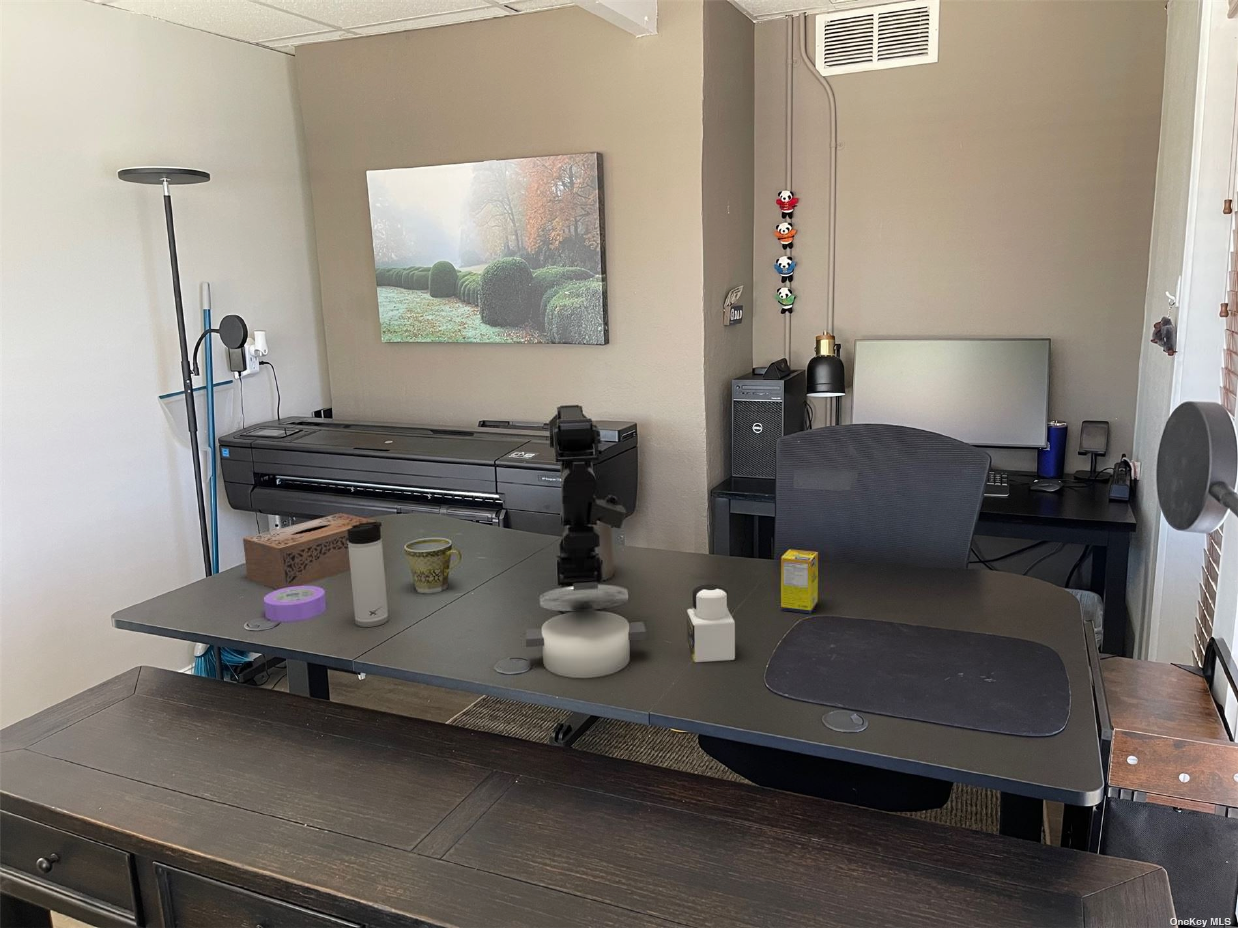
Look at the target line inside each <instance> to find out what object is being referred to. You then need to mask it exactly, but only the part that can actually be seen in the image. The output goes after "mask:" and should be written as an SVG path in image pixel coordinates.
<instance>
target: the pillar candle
mask: <svg viewBox="0 0 1238 928" xmlns="http://www.w3.org/2000/svg"><path fill="white" fill-rule="evenodd" d="M589 526H593V527H594V528H596V529H597V530H598V533H599V539H600V546H599V547H595V551H596V553H599V556H600V558H601V559H602V560H603V570H602V575H603V580H605V581H607V579H608V580H609V578H610V579H611V578H612V577H613V576H614V555H613V537H612V525H608V524H605V523H602V522H599V521H597V525H589ZM603 580H602V582H604V581H603Z"/></svg>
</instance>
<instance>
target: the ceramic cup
mask: <svg viewBox="0 0 1238 928" xmlns="http://www.w3.org/2000/svg"><path fill="white" fill-rule="evenodd" d="M404 552H405V555H406V559H407V562H408V565H409V567H410V572H411V575H412V579H413V583H414V587H415V589H416V591H417V592H418V593H419V594H428V595H429V594H436V593H441V592H443V591H445V590H447V589H448V585H449V573H450V571H451V570H453V568H454V567H455V566H456V565H458V564H459V563H460V562H461V560H462V554H461V551H460V550H458V549H455V548H454V549H453V542H452V540H450V539H448V538H444V537H426V538H419V539H415V540H412V541H408V543H405V545H404ZM453 553H456V554H457V555H458V560H457V561H456V562H454V563H453V564H452V565H451V566H450V563H451V557H452V554H453Z"/></svg>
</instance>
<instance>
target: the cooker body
mask: <svg viewBox="0 0 1238 928" xmlns="http://www.w3.org/2000/svg"><path fill="white" fill-rule="evenodd" d="M645 627H646V626H645V624H644V622H643V621H635V622H628V620H627V619H626V618H624V617H623V616H621V615H620V614H616V613H613V612H608V611H602V610H601V611H594V610H582V611H572V612H570V613H562V614H558V615H556V616H553V617H551V618H550V619H547V620H546V621H545V622H544V623H543V624H542V626H541V627H540V628H527V629H525V646H526V648H532V647H541V648H542V661H543V662H542V663H543V666H544V667H545V669H546V670H547V671H549V672H551V673H553V674H555V675H558V676H561V677H565V678H573V679H590V678H599V677H604V676H609V675H611V674H615V673H617V672H619V671H621V670H622V669H624V668H626V666H628V665H629V663H630V660H631V654H630V650H631V649H630V645H631V644H630V641H637V640H646V639H647V630H646V628H645Z"/></svg>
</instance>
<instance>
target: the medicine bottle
mask: <svg viewBox="0 0 1238 928" xmlns="http://www.w3.org/2000/svg"><path fill="white" fill-rule="evenodd" d="M686 623H687V624H686V630H687V631H686V633H687V635H686V636H687V642H686V643H687V648H688V650H689V653H690V655H691V657H692V660H693V663H704V662H705V663H707V662H721V661H722V662H724V661H733V660H735V658H736V641H735V640H736V636H735V635H736V633H735V632H736V629H735V628H736V626H735V625H736V624H735V623H736V622H735V620H734V618H733V616H732V614H731V613H730V611H729V592H728V590H727V588H725V587H723V586H721V585H718V584H714V583H713V584H712V583H711V584H710V583H708V584H701V585H699V586H696V587H695V588H693V590H692V608H687V610H686Z"/></svg>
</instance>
